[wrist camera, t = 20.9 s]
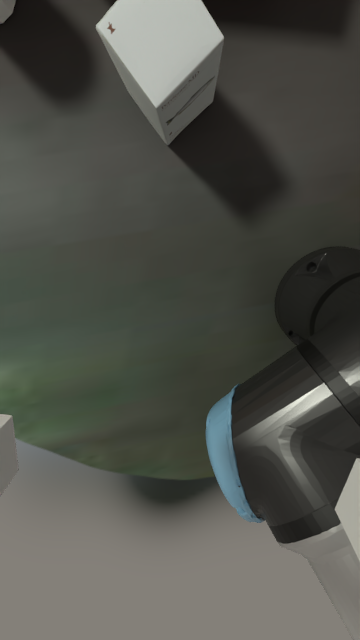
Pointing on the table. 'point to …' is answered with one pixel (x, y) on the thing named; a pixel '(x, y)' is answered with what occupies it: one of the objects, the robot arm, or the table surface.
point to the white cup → (6, 9)
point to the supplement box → (164, 58)
